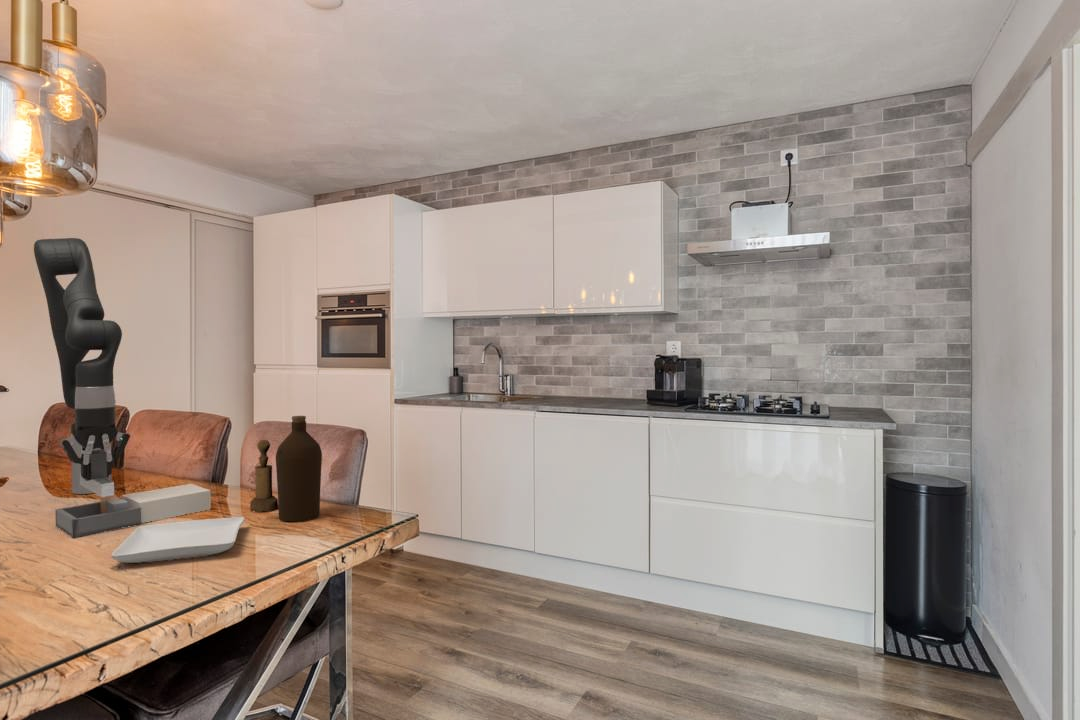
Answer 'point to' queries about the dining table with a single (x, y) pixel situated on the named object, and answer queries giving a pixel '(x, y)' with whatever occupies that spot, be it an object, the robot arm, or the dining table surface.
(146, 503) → the long rectangular box
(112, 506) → the pale grey box
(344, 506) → the dining table surface
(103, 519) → the box
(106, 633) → the dining table surface
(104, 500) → the tan block
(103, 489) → the scraper
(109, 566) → the dining table surface
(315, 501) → the olive oil
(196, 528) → the salad plate
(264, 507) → the brown chess piece
